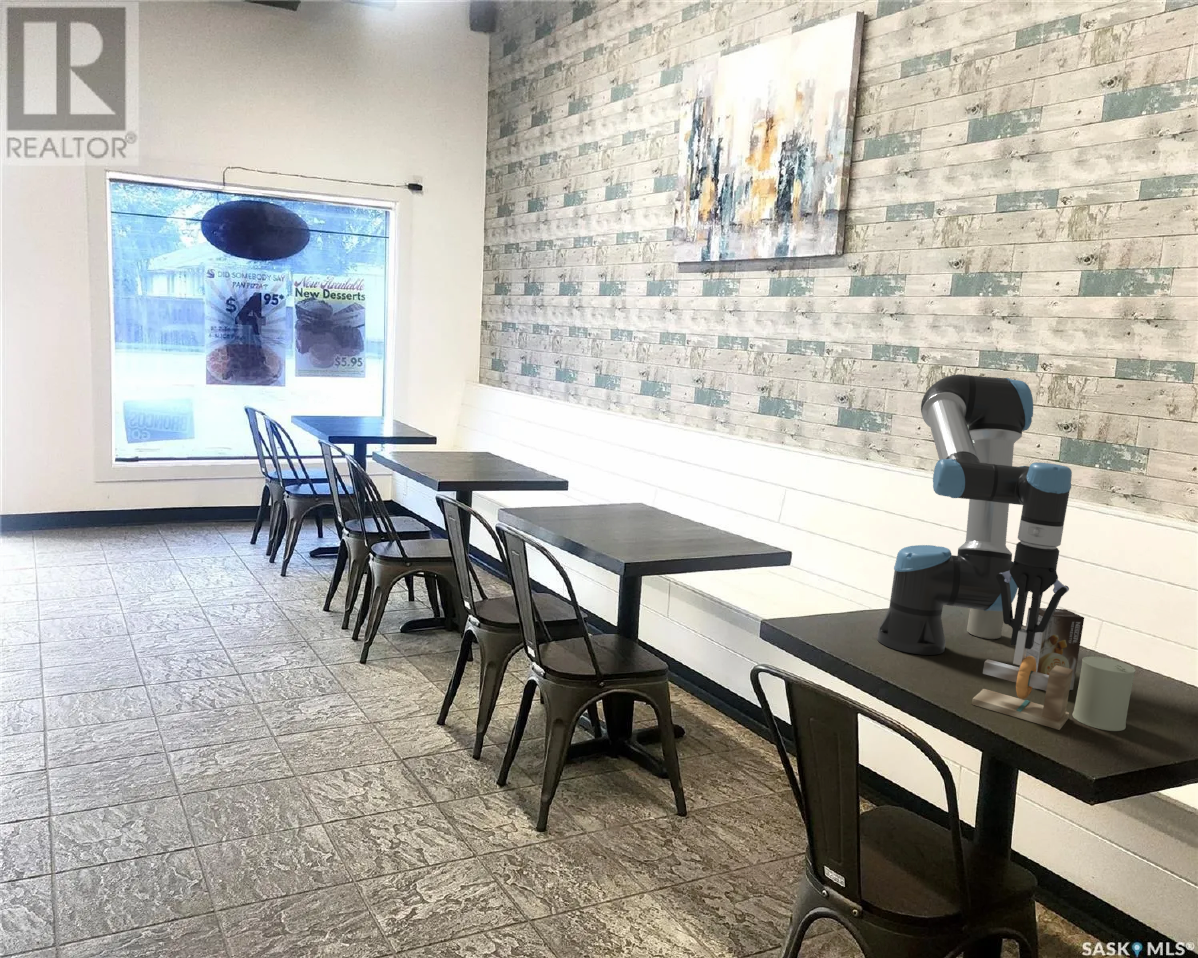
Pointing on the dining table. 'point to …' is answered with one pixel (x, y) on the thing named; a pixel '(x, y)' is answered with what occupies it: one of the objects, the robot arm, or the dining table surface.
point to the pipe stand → (1044, 714)
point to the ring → (1025, 677)
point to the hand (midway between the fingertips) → (1018, 662)
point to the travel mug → (985, 623)
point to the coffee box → (1057, 642)
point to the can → (1104, 693)
